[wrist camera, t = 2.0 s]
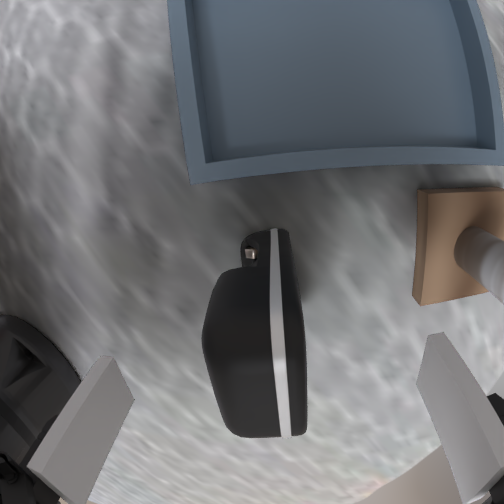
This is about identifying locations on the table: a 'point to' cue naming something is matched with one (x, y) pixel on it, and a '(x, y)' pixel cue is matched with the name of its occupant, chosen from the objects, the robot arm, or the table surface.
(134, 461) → the table surface
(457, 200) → the wooden base with post
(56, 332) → the table surface
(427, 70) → the parts tray
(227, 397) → the battery charger
